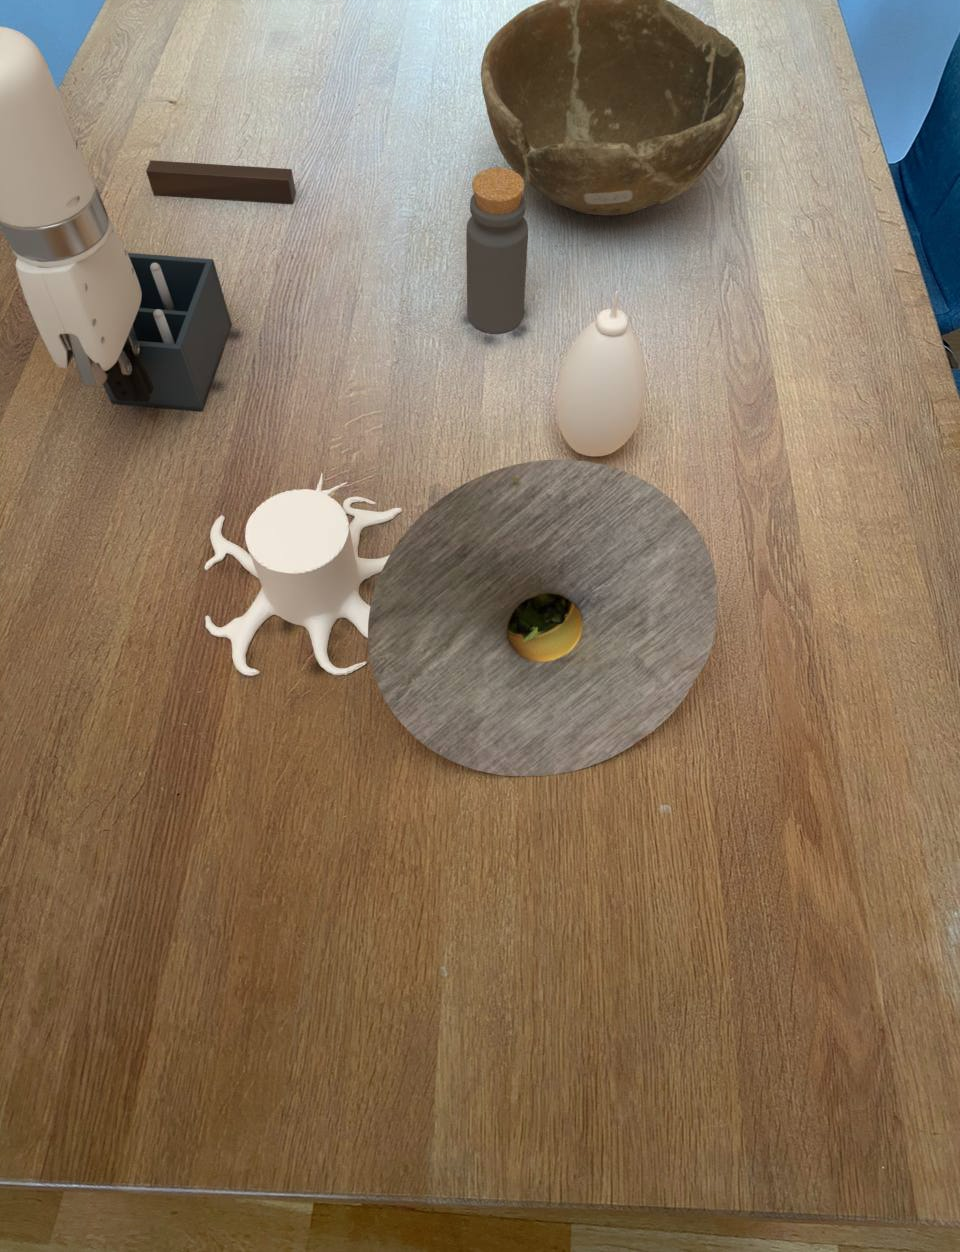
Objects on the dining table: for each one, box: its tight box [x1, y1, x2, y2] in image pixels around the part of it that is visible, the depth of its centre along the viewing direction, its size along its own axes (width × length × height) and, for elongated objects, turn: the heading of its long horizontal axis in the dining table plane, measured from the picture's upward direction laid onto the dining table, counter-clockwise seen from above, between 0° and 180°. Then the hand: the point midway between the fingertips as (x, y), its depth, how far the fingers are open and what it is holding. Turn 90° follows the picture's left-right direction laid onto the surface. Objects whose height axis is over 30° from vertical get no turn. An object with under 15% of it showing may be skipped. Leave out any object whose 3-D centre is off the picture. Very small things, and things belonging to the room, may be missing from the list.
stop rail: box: [145, 159, 297, 205], centre depth 106 cm, size 2×16×3 cm, turn 85°
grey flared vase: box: [367, 459, 719, 777], centre depth 72 cm, size 25×18×25 cm
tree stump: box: [204, 472, 403, 677], centre depth 77 cm, size 20×19×8 cm
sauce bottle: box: [554, 290, 647, 457], centre depth 81 cm, size 8×8×18 cm
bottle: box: [465, 167, 529, 335], centre depth 91 cm, size 6×6×15 cm
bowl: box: [480, 0, 747, 216], centre depth 101 cm, size 28×27×15 cm
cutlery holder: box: [102, 252, 233, 412], centre depth 90 cm, size 12×9×9 cm
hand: (135, 394), depth 86 cm, fingers closed
